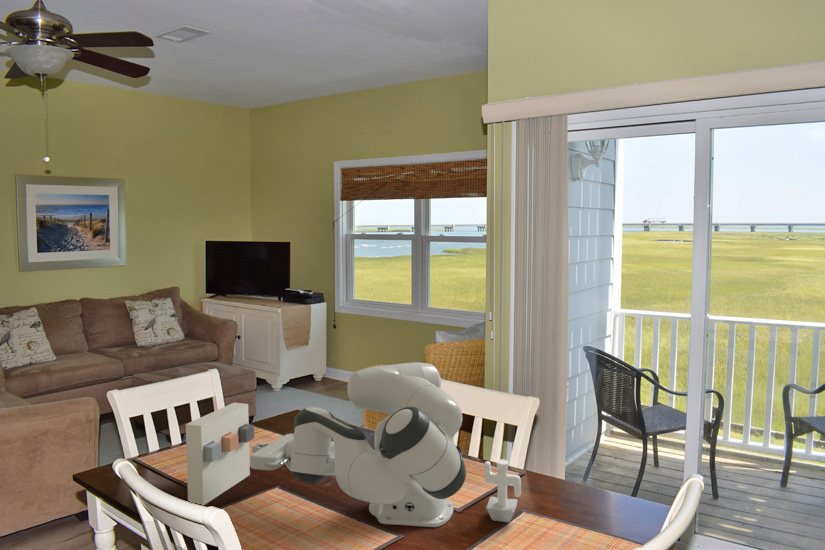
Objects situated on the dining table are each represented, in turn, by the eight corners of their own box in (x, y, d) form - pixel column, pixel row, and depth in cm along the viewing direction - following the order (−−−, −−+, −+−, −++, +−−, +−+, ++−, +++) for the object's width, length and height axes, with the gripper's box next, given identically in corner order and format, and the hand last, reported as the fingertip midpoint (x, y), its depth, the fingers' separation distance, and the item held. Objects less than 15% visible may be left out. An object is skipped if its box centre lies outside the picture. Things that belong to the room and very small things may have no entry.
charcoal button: (254, 438, 186) (253, 425, 186) (246, 442, 182) (246, 429, 182) (242, 436, 187) (242, 423, 187) (234, 441, 184) (234, 428, 183)
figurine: (518, 526, 156) (519, 468, 155) (481, 521, 159) (482, 464, 157) (522, 513, 163) (522, 458, 162) (486, 509, 165) (486, 454, 164)
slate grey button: (221, 457, 171) (221, 442, 171) (212, 462, 167) (211, 447, 167) (209, 455, 172) (208, 441, 172) (199, 460, 169) (199, 446, 168)
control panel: (249, 474, 189) (248, 404, 187) (203, 505, 168) (201, 426, 166) (235, 472, 190) (234, 402, 189) (188, 502, 170) (185, 424, 168)
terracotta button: (238, 447, 179) (238, 433, 178) (230, 452, 175) (229, 438, 175) (226, 445, 180) (226, 432, 180) (218, 450, 176) (217, 436, 176)
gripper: (278, 479, 159) (232, 472, 164) (315, 453, 179) (273, 447, 183) (278, 454, 159) (232, 448, 163) (315, 431, 178) (273, 426, 183)
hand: (254, 447), depth 173 cm, fingers closed
